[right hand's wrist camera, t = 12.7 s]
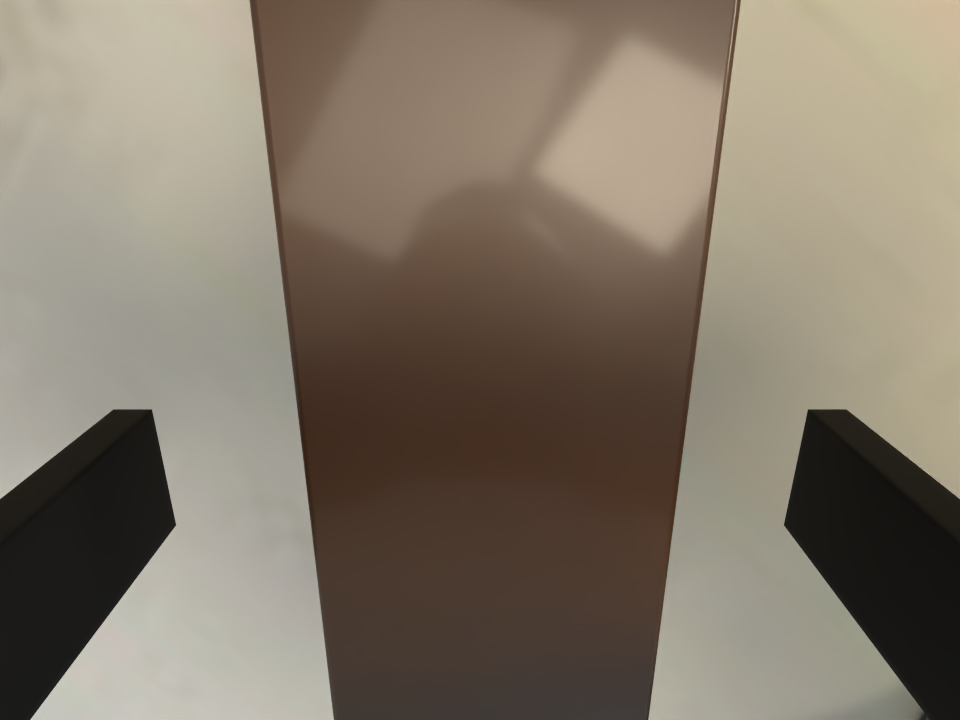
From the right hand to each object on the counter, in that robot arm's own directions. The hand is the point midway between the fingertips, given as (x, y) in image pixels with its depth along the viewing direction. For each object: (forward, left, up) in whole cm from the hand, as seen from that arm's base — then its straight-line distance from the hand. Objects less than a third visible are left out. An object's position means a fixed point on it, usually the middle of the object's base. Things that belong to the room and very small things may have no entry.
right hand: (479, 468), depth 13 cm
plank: (0, -10, -3) cm, 10 cm away
